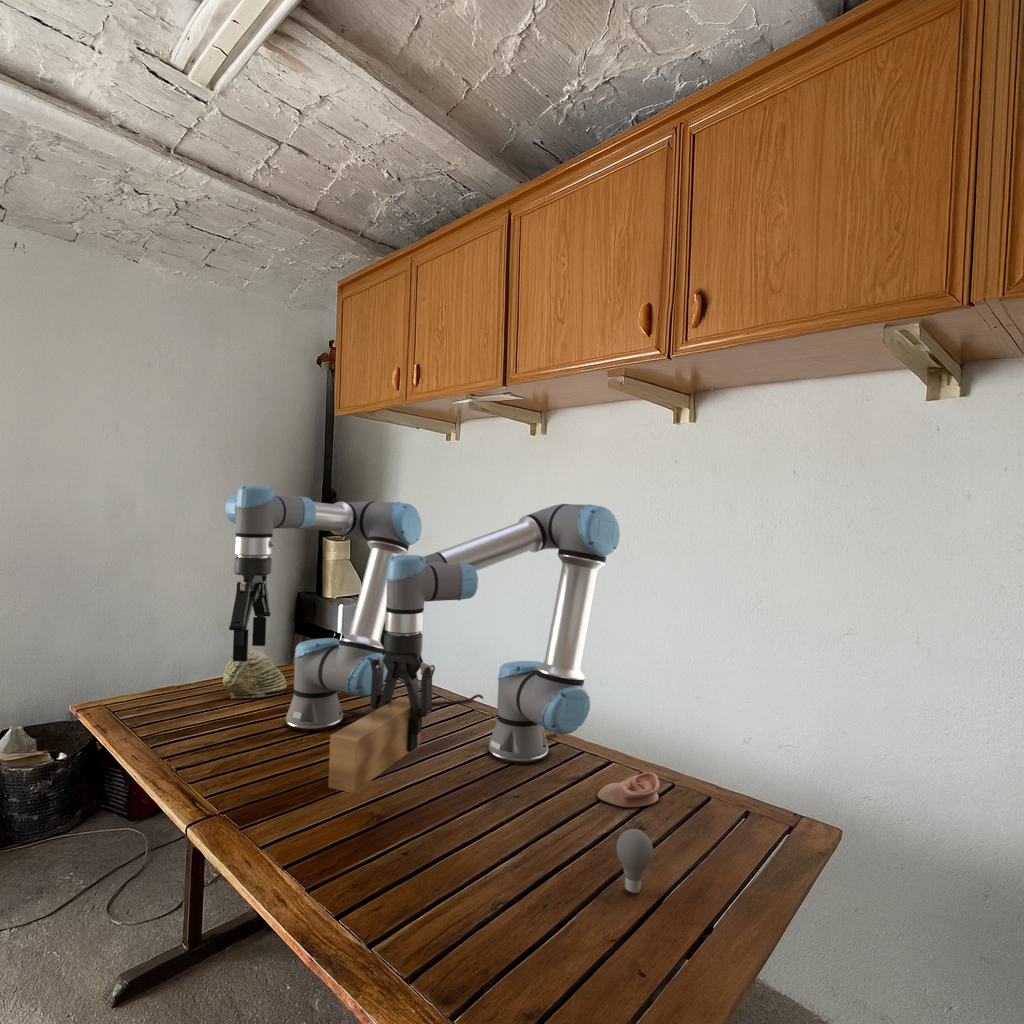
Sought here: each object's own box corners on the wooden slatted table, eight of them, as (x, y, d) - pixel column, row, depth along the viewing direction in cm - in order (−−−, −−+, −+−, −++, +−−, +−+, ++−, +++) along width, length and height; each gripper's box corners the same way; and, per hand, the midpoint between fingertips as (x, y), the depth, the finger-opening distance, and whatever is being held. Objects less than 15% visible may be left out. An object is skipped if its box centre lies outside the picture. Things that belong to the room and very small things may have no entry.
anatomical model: (597, 785, 136) (600, 763, 147) (596, 803, 136) (599, 780, 147) (660, 793, 133) (659, 771, 144) (659, 812, 133) (658, 788, 144)
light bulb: (610, 879, 108) (613, 822, 108) (644, 879, 109) (647, 822, 109) (619, 902, 102) (622, 840, 102) (655, 901, 103) (658, 840, 103)
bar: (354, 793, 108) (356, 740, 108) (328, 787, 110) (330, 735, 110) (420, 744, 131) (422, 700, 131) (397, 740, 133) (399, 696, 133)
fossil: (218, 695, 195) (220, 647, 195) (278, 685, 208) (279, 640, 207) (228, 703, 189) (230, 653, 188) (289, 692, 201) (290, 645, 201)
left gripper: (254, 562, 126) (250, 668, 127) (285, 551, 151) (281, 640, 152) (215, 561, 126) (211, 667, 126) (252, 550, 150) (249, 639, 151)
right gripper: (453, 633, 128) (448, 747, 128) (374, 624, 134) (369, 733, 134) (436, 640, 121) (431, 761, 121) (354, 630, 127) (349, 745, 127)
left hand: (249, 653), depth 139 cm, fingers open, 13 cm apart
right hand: (399, 746), depth 128 cm, fingers closed on bar, 5 cm apart
